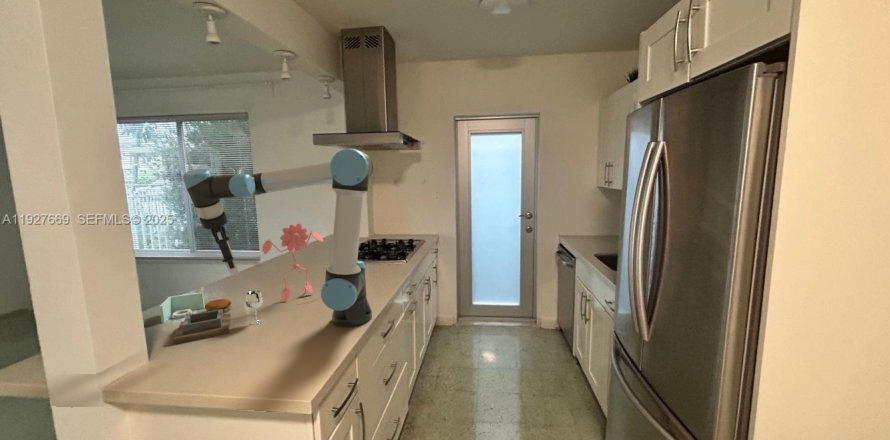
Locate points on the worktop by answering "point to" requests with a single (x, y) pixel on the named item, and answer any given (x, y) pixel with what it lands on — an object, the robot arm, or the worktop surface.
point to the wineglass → (254, 304)
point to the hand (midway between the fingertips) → (232, 265)
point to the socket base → (203, 326)
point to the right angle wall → (181, 306)
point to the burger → (218, 305)
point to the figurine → (293, 240)
